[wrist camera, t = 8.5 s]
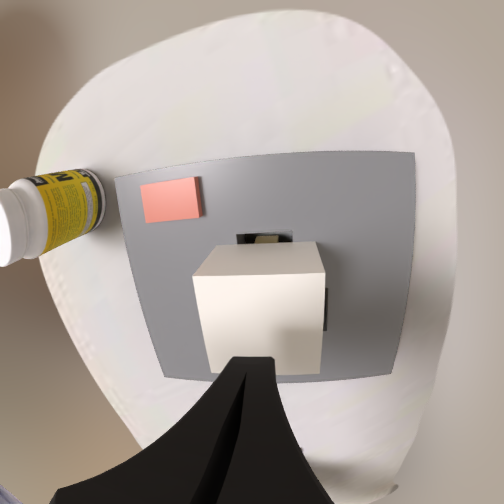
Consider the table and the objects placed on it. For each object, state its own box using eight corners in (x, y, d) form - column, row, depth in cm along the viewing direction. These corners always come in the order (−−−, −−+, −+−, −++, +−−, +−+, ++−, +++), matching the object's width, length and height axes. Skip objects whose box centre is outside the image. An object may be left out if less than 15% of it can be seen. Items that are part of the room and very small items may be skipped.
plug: (311, 334, 17) (316, 400, 12) (235, 335, 18) (217, 398, 13) (311, 232, 15) (325, 272, 10) (223, 235, 16) (192, 276, 11)
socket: (382, 352, 18) (393, 379, 15) (175, 356, 20) (161, 382, 18) (396, 152, 14) (419, 152, 11) (135, 174, 16) (108, 178, 13)
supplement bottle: (102, 161, 16) (5, 175, 8) (113, 228, 18) (25, 274, 10) (58, 175, 17) (-29, 196, 9) (68, 234, 18) (-12, 274, 10)
